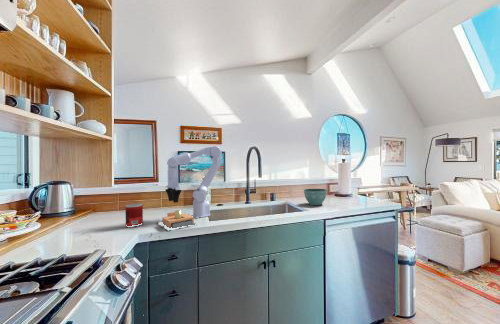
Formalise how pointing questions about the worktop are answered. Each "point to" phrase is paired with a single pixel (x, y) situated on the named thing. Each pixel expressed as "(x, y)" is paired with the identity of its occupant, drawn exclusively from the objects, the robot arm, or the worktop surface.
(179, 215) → the pin
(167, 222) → the orange slotted block
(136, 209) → the canned food
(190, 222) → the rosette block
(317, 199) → the flower pot
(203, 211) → the robot arm
